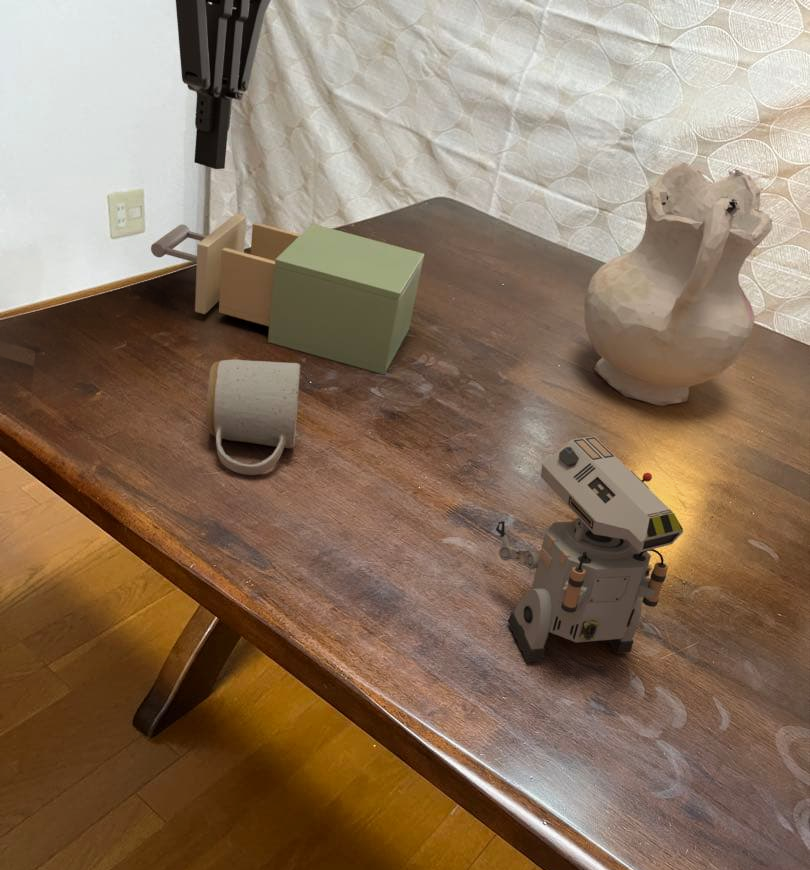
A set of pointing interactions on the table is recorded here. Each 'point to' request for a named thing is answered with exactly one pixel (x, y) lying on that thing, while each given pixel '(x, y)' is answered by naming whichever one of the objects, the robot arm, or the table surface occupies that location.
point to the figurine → (592, 553)
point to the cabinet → (344, 297)
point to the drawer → (232, 266)
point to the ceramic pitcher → (678, 288)
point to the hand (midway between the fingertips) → (209, 165)
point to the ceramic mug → (253, 407)
